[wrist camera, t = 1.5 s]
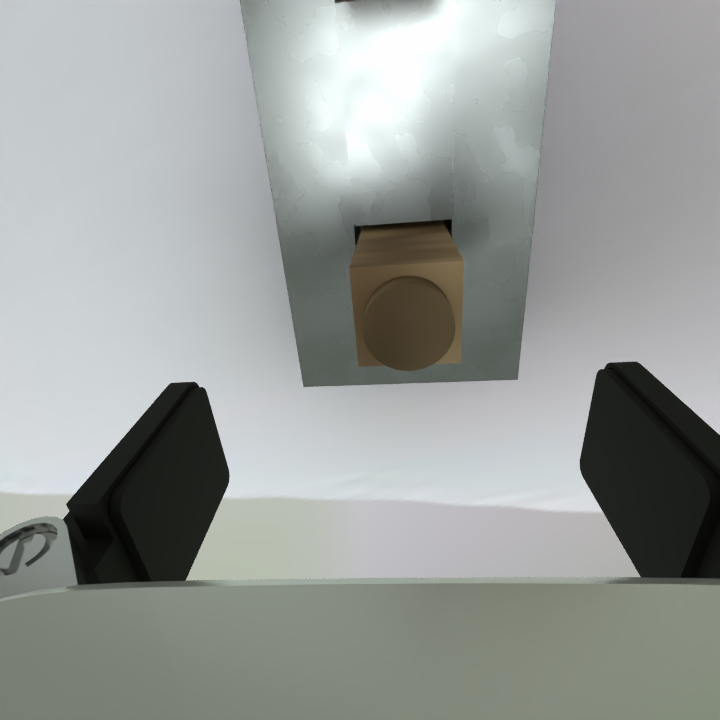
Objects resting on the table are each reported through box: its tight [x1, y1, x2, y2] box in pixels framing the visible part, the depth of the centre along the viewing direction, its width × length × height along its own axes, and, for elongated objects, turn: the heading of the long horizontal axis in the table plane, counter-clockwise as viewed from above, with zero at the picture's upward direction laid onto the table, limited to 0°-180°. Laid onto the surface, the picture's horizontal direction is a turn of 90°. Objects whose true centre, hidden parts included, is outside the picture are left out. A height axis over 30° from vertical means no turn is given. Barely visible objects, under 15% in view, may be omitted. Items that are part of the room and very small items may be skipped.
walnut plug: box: [349, 220, 464, 371], centre depth 20 cm, size 4×4×11 cm
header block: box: [240, 0, 556, 387], centre depth 21 cm, size 12×26×5 cm, turn 5°
